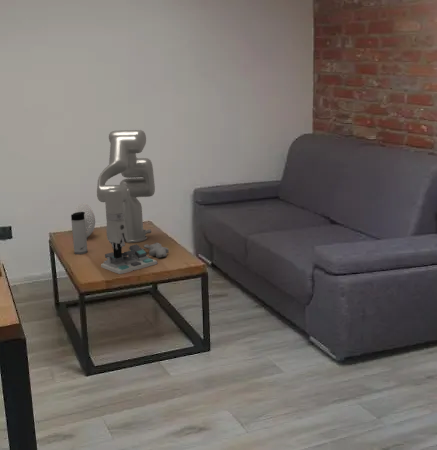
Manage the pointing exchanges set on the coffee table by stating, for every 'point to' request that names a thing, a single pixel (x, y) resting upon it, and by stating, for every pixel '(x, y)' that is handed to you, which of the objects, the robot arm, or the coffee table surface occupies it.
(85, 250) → the travel mug
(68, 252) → the coffee table surface
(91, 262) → the coffee table surface
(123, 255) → the rocker middle
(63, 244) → the coffee table surface
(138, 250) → the rocker nearest
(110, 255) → the rocker
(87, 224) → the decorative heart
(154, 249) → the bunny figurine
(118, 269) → the switch unit
